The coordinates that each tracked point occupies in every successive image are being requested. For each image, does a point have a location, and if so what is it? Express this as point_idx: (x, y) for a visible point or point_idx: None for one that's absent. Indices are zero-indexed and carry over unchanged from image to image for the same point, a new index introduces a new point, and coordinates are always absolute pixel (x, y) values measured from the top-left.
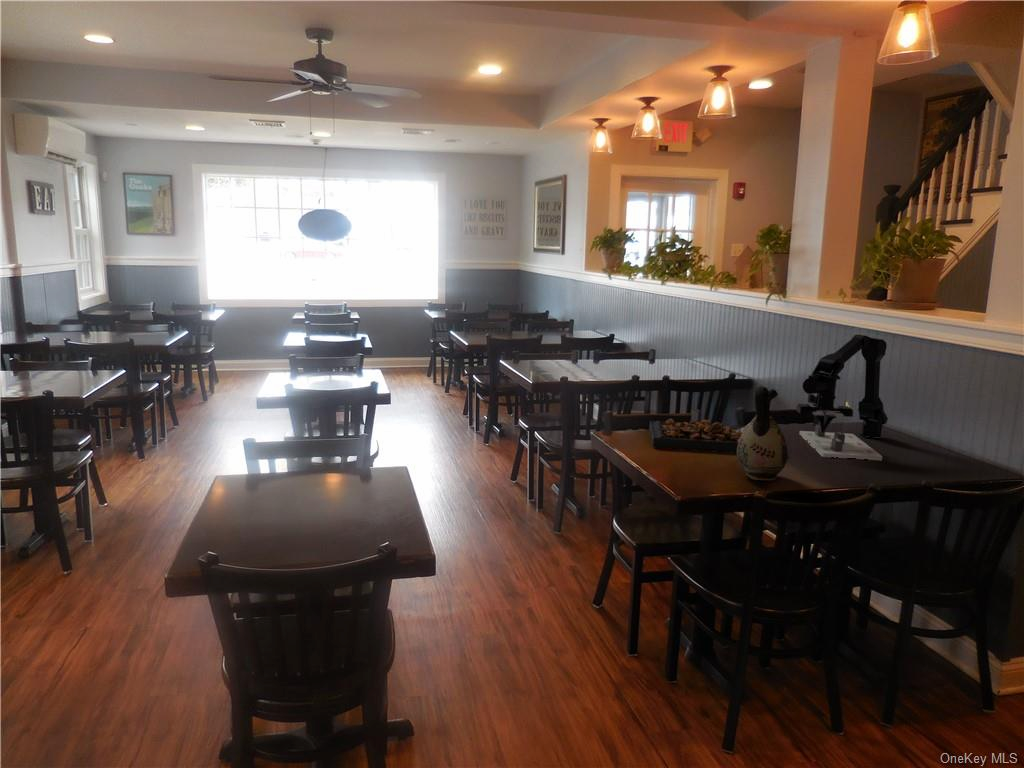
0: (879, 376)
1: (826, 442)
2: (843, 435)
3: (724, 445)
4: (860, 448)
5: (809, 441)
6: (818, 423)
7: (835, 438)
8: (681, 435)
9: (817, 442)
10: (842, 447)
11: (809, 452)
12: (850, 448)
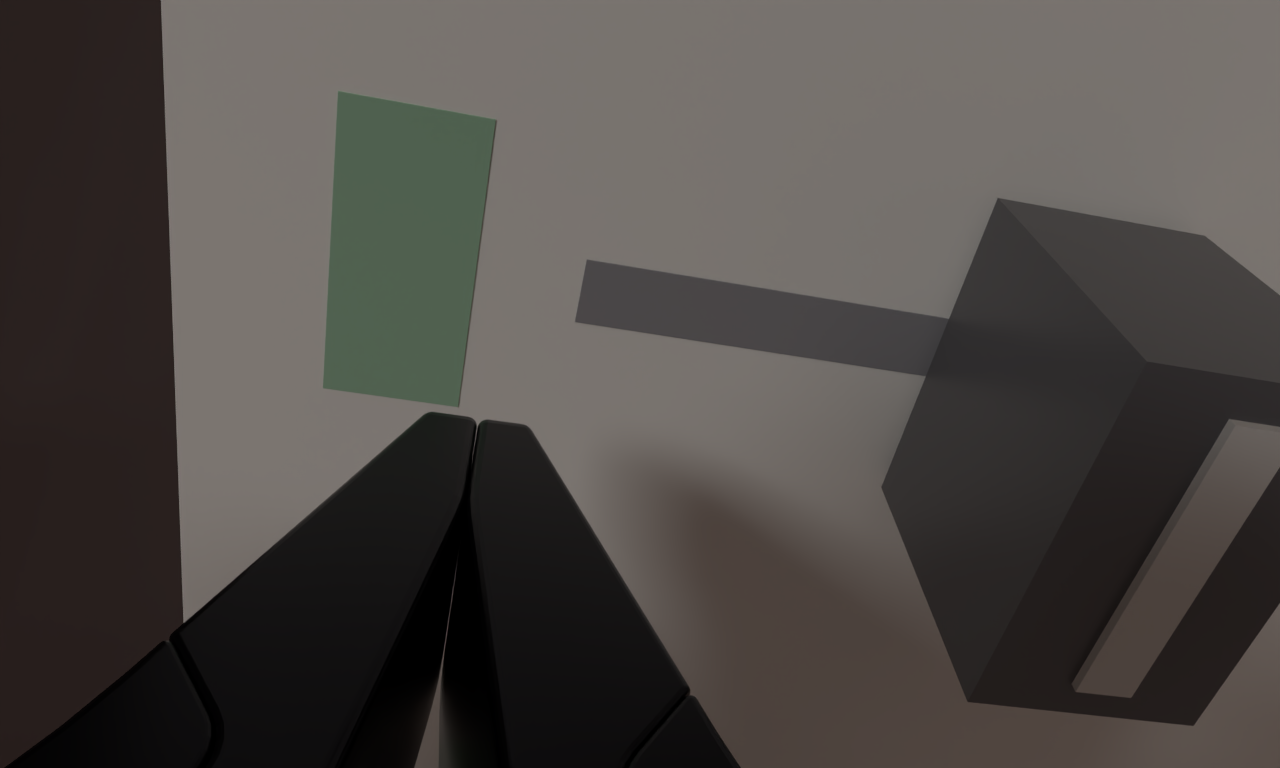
0: None
1: (659, 332)
2: (1133, 700)
3: None
4: (1210, 733)
5: (182, 59)
6: (176, 656)
7: (982, 394)
8: None
9: (354, 347)
10: (832, 698)
11: (24, 710)
12: (972, 746)
